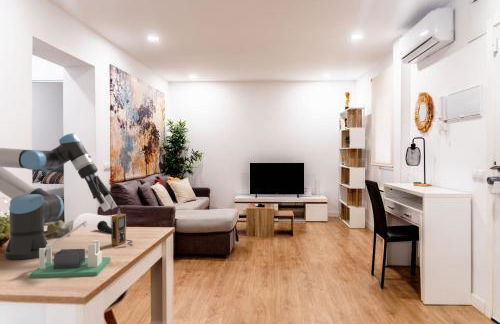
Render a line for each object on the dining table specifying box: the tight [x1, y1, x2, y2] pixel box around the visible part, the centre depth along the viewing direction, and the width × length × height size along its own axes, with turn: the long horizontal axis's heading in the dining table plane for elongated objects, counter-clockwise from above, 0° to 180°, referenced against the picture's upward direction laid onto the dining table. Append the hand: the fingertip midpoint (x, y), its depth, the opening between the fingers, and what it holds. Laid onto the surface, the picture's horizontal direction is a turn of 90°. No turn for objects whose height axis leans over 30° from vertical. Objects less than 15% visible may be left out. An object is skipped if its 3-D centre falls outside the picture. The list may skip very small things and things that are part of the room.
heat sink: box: [53, 248, 86, 269], centre depth 132 cm, size 8×8×5 cm
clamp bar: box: [45, 220, 89, 252], centre depth 132 cm, size 17×4×2 cm
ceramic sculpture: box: [44, 219, 74, 239], centre depth 183 cm, size 11×9×15 cm
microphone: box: [96, 220, 111, 234], centre depth 194 cm, size 5×5×19 cm
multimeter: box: [110, 198, 135, 249], centre depth 168 cm, size 15×10×20 cm
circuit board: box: [29, 239, 111, 279], centre depth 132 cm, size 21×18×9 cm
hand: (111, 209), depth 163 cm, fingers open, 13 cm apart
